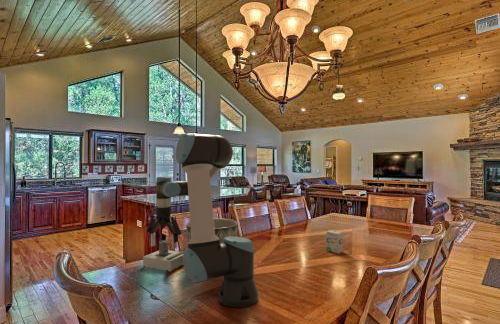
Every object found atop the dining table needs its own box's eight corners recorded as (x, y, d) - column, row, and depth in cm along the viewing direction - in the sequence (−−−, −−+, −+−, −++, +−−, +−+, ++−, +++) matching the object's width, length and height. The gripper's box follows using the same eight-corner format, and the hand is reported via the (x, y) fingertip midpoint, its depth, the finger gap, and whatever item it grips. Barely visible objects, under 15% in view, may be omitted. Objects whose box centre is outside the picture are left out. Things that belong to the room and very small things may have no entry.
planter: (187, 278, 129) (187, 230, 130) (184, 260, 154) (185, 219, 155) (243, 273, 136) (243, 226, 136) (232, 256, 161) (232, 217, 162)
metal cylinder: (164, 266, 145) (164, 242, 145) (156, 265, 147) (157, 241, 147) (170, 263, 150) (170, 240, 150) (162, 262, 151) (163, 239, 151)
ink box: (325, 250, 172) (325, 231, 172) (330, 249, 176) (330, 229, 176) (338, 253, 166) (338, 233, 166) (343, 252, 169) (343, 232, 170)
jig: (170, 271, 138) (170, 259, 138) (143, 266, 144) (143, 255, 144) (187, 262, 151) (187, 251, 151) (161, 258, 157) (161, 248, 157)
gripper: (188, 206, 147) (187, 247, 147) (149, 204, 157) (149, 242, 157) (179, 208, 140) (179, 252, 140) (139, 205, 150) (139, 246, 150)
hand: (163, 247), depth 148 cm, fingers open, 13 cm apart
